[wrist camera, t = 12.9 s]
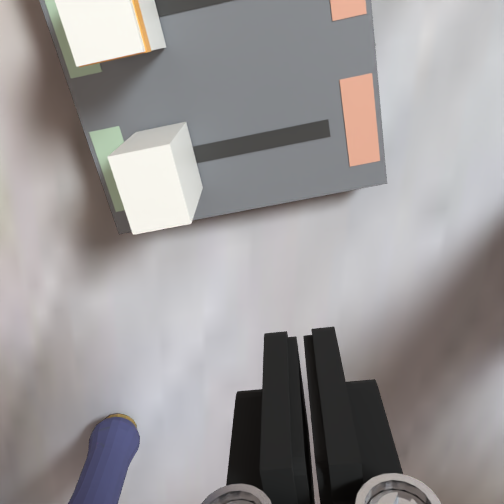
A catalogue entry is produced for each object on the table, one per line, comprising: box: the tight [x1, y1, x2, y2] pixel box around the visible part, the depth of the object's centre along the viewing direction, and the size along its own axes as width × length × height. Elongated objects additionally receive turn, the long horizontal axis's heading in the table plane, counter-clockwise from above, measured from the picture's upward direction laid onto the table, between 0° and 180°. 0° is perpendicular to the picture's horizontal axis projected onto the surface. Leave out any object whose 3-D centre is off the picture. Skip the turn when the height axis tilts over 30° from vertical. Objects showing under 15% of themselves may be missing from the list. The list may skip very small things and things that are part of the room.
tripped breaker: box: [55, 0, 166, 67], centre depth 23 cm, size 3×4×6 cm
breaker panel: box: [39, 0, 387, 235], centre depth 25 cm, size 17×16×9 cm
